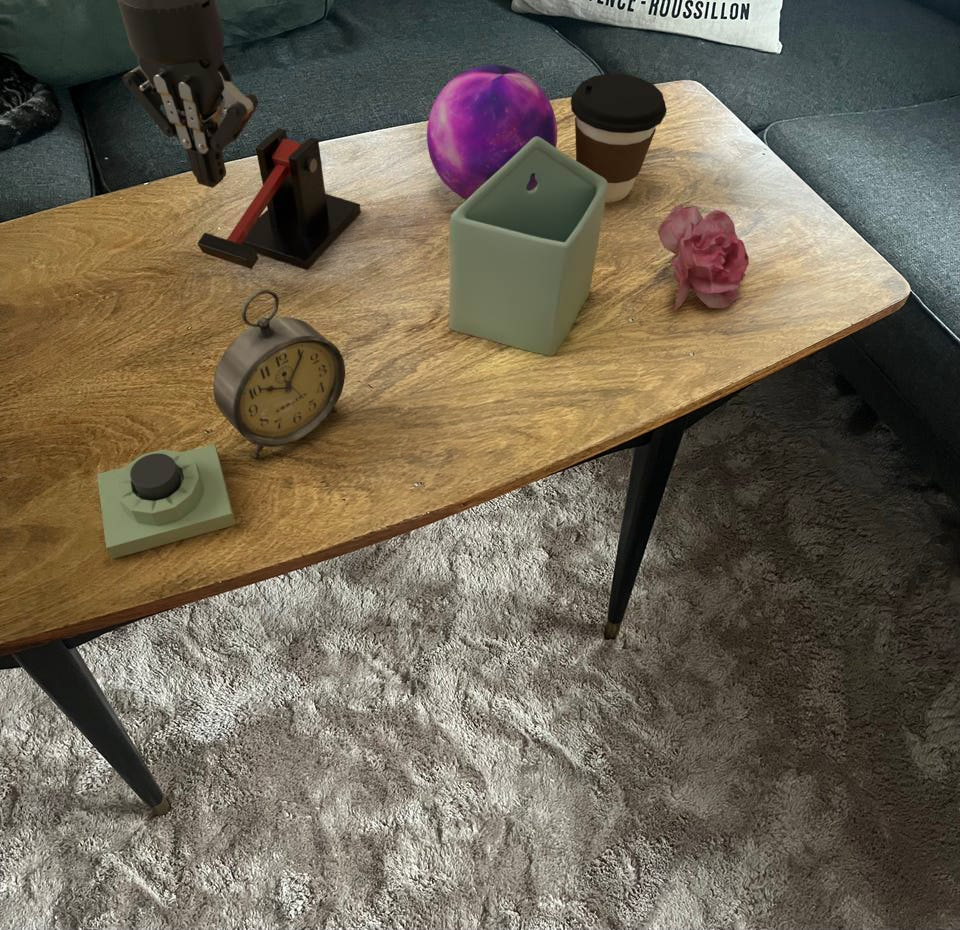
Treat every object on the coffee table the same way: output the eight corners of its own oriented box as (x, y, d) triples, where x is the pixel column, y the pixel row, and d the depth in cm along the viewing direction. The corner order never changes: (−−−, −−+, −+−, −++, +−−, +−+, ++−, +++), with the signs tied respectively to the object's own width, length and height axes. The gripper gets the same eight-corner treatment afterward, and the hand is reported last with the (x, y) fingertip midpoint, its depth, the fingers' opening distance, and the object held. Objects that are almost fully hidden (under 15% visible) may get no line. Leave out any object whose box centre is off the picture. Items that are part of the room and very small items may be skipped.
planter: (477, 377, 82) (485, 203, 66) (448, 326, 86) (448, 152, 71) (622, 336, 86) (661, 164, 71) (587, 290, 91) (616, 118, 75)
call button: (139, 505, 67) (132, 492, 66) (133, 472, 69) (127, 459, 68) (184, 493, 68) (179, 480, 67) (177, 461, 70) (172, 448, 69)
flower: (741, 311, 94) (780, 288, 84) (657, 327, 93) (686, 305, 83) (720, 214, 95) (756, 179, 85) (636, 229, 94) (663, 195, 84)
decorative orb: (526, 243, 95) (537, 120, 84) (407, 212, 99) (402, 88, 87) (566, 176, 104) (581, 56, 93) (456, 149, 107) (457, 30, 96)
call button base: (112, 559, 68) (98, 535, 65) (103, 485, 72) (89, 460, 69) (236, 524, 70) (227, 500, 67) (219, 455, 75) (210, 430, 72)
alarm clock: (253, 476, 73) (212, 340, 61) (222, 440, 76) (176, 302, 63) (354, 417, 78) (336, 280, 65) (321, 385, 80) (298, 247, 68)
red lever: (253, 272, 84) (245, 257, 82) (204, 255, 86) (195, 240, 84) (322, 164, 90) (317, 147, 87) (275, 150, 91) (268, 133, 89)
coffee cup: (553, 206, 100) (564, 111, 91) (567, 158, 107) (579, 65, 98) (643, 220, 99) (664, 125, 90) (652, 171, 106) (672, 78, 96)
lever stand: (307, 270, 91) (292, 183, 83) (238, 247, 93) (217, 160, 85) (360, 212, 98) (352, 126, 90) (295, 192, 100) (281, 107, 92)
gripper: (63, -16, 64) (128, 183, 78) (205, 20, 61) (248, 221, 75) (127, -49, 69) (178, 145, 82) (262, -16, 66) (293, 180, 79)
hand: (211, 181), depth 78 cm, fingers closed
